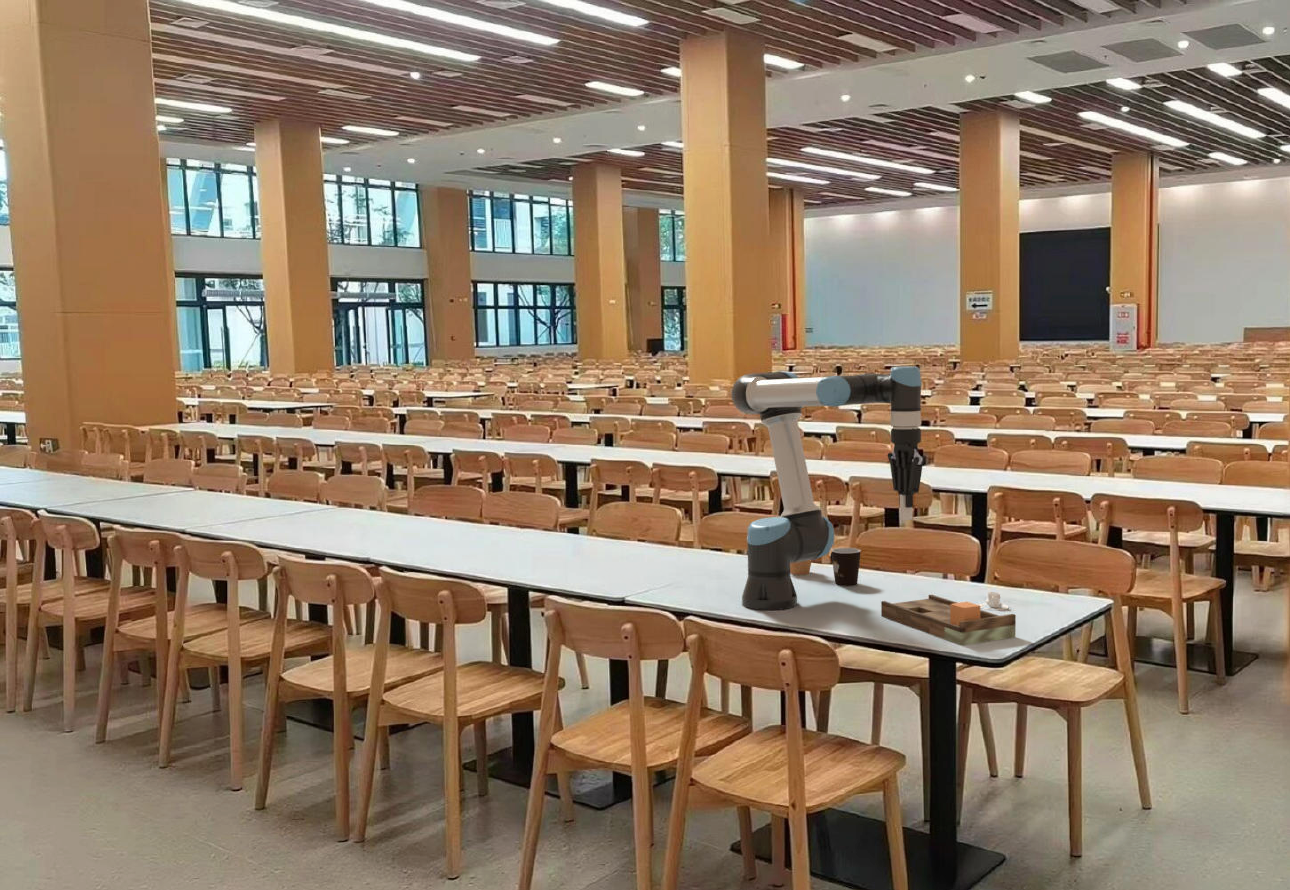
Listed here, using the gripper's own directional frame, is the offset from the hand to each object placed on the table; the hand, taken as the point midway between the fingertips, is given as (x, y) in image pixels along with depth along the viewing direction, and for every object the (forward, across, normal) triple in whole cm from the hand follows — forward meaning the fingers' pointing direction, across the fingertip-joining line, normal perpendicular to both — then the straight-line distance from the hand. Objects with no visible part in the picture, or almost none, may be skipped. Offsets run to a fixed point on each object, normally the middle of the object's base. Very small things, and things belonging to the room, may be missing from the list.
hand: (906, 519), depth 310 cm
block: (+23, -20, -3) cm, 31 cm away
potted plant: (+27, +66, -8) cm, 72 cm away
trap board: (+26, -8, -6) cm, 28 cm away
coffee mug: (+27, +47, -12) cm, 55 cm away
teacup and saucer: (+27, +2, -33) cm, 43 cm away
